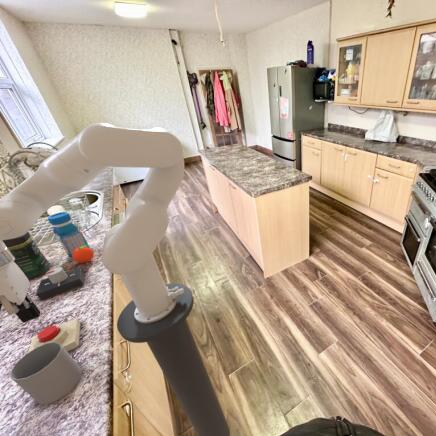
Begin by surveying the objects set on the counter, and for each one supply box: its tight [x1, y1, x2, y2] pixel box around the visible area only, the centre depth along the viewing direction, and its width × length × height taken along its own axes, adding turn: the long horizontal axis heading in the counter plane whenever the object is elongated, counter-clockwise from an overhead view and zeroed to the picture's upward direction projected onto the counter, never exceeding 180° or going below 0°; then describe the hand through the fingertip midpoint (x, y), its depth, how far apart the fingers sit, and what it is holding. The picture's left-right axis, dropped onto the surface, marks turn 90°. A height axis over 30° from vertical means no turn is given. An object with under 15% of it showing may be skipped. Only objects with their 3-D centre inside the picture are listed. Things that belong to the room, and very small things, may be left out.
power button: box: [37, 324, 60, 342], centre depth 64 cm, size 4×4×2 cm
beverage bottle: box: [47, 211, 91, 260], centre depth 102 cm, size 8×8×20 cm
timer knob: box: [45, 266, 68, 284], centre depth 86 cm, size 4×4×4 cm
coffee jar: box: [2, 231, 51, 279], centre depth 92 cm, size 10×8×19 cm
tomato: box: [72, 244, 95, 264], centre depth 100 cm, size 8×7×7 cm
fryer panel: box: [35, 266, 86, 301], centre depth 87 cm, size 12×9×3 cm
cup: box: [9, 342, 83, 406], centre depth 54 cm, size 8×8×10 cm
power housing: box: [27, 317, 81, 353], centre depth 65 cm, size 10×10×4 cm
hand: (32, 317), depth 61 cm, fingers closed
